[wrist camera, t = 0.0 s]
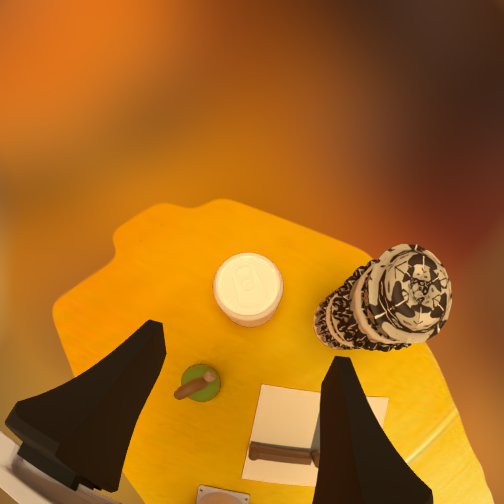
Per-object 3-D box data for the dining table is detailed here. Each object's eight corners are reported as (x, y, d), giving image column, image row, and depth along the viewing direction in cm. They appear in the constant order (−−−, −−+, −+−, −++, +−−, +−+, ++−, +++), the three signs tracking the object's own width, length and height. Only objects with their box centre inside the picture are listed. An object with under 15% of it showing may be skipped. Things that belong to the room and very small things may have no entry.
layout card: (364, 485, 35) (365, 486, 34) (241, 476, 36) (241, 478, 36) (387, 397, 39) (389, 397, 39) (261, 383, 41) (261, 384, 40)
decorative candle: (362, 356, 42) (461, 355, 18) (304, 345, 43) (359, 340, 19) (372, 299, 44) (468, 247, 21) (317, 286, 45) (376, 218, 22)
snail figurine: (235, 382, 41) (226, 394, 30) (199, 404, 40) (179, 422, 29) (214, 353, 43) (198, 354, 31) (179, 375, 41) (152, 383, 30)
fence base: (318, 458, 36) (324, 468, 32) (248, 450, 37) (247, 460, 33) (321, 449, 37) (327, 459, 33) (250, 441, 38) (249, 450, 33)
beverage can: (233, 334, 43) (224, 329, 32) (216, 284, 46) (202, 262, 34) (285, 316, 44) (294, 305, 33) (266, 267, 46) (269, 239, 35)
